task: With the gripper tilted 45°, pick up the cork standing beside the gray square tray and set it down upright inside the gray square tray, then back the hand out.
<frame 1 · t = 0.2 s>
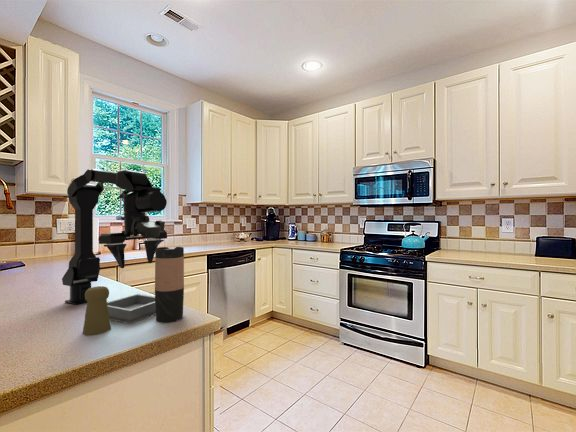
hand: (136, 265, 87), 14 cm above the table, tool pointing down, fingers open, 9 cm apart
gray square tray: (134, 313, 87), on the table
travel mug: (169, 319, 83), on the table
cork: (97, 331, 74), on the table
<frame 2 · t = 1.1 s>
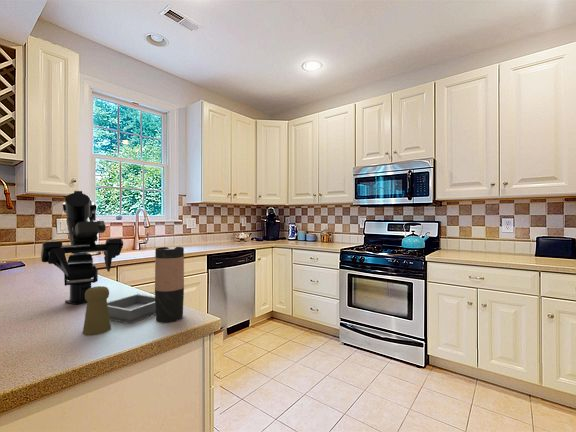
hand: (89, 272, 79), 14 cm above the table, tool tilted 45°, fingers open, 9 cm apart
nothing on the table moved.
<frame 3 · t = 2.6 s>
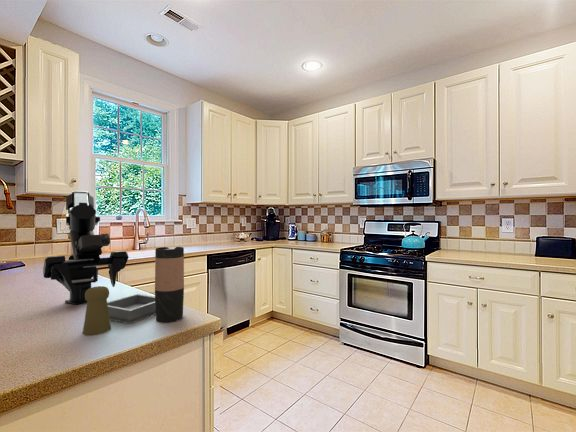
hand: (94, 288, 76), 10 cm above the table, tool tilted 45°, fingers open, 9 cm apart
nothing on the table moved.
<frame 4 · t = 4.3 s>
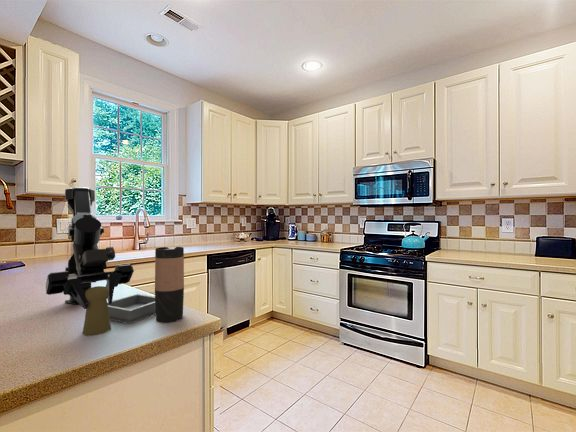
hand: (98, 305, 73), 7 cm above the table, tool tilted 45°, fingers closed on cork, 5 cm apart
cork: (97, 331, 74), on the table, touching gripper
everything else where it was.
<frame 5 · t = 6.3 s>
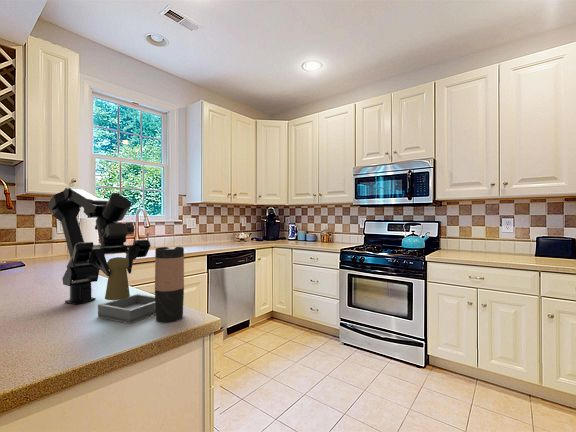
hand: (119, 274, 80), 13 cm above the table, tool tilted 45°, fingers closed on cork, 5 cm apart
cork: (117, 297, 81), point 6 cm above the table, touching gripper
everything else where it was.
when the fingers open (9 cm above the table, at t = 8.2 s): cork drops 1 cm, resting on gray square tray.
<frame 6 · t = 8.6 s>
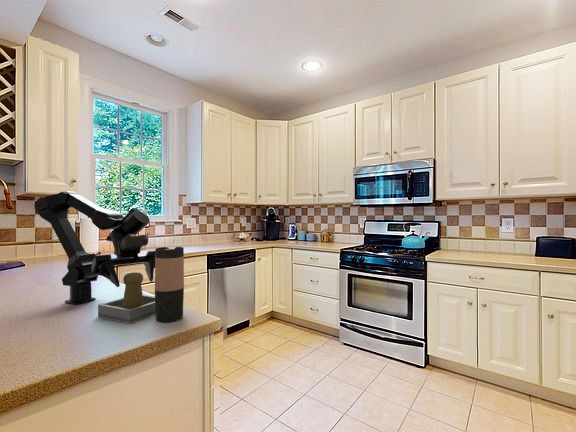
hand: (135, 283, 86), 9 cm above the table, tool tilted 45°, fingers open, 9 cm apart
cork: (133, 310, 87), point 1 cm above the table, touching gray square tray
everything else where it was.
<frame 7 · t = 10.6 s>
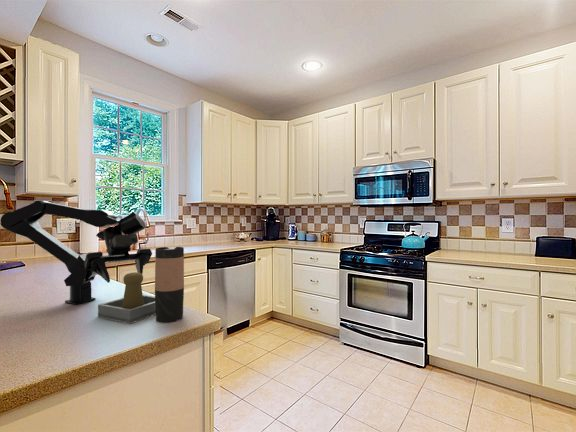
hand: (125, 279, 91), 9 cm above the table, tool tilted 45°, fingers open, 9 cm apart
nothing on the table moved.
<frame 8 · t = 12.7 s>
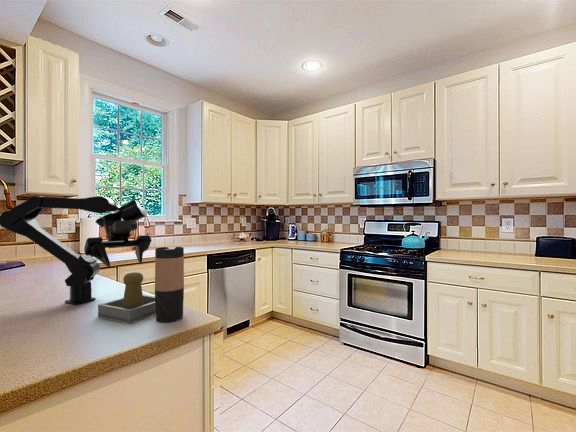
hand: (125, 264, 92), 14 cm above the table, tool tilted 45°, fingers open, 9 cm apart
nothing on the table moved.
at the end: cork inside the target area on the gray square tray (0.2 cm from its centre), point 0.8 cm above the gray square tray's base; cork tilted 0°; the gripper is holding nothing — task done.
